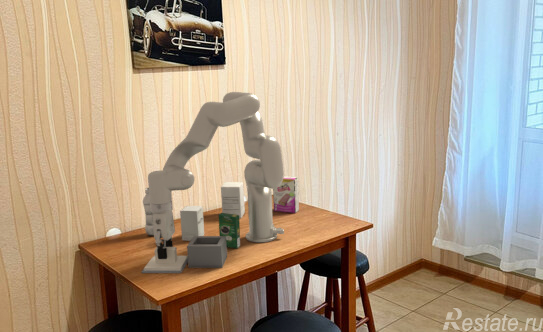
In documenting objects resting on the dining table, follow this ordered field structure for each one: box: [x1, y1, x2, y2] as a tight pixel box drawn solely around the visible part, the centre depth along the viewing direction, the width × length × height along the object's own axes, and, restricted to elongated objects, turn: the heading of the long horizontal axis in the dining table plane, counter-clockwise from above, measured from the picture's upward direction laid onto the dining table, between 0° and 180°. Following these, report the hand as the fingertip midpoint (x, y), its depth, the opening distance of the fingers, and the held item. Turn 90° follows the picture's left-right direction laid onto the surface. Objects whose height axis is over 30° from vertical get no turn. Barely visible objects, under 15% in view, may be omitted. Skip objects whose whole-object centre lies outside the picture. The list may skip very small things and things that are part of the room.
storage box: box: [186, 235, 228, 269], centre depth 183 cm, size 12×10×8 cm
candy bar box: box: [272, 175, 300, 214], centre depth 239 cm, size 11×5×16 cm, turn 68°
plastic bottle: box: [142, 187, 154, 236], centre depth 213 cm, size 6×7×20 cm
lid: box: [143, 246, 188, 271], centre depth 182 cm, size 13×11×6 cm
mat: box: [141, 259, 188, 274], centre depth 183 cm, size 14×13×1 cm
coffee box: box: [218, 212, 241, 250], centre depth 197 cm, size 8×3×13 cm, turn 66°
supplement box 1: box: [179, 205, 205, 242], centre depth 208 cm, size 7×7×13 cm
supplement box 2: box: [220, 181, 246, 219], centre depth 235 cm, size 9×9×15 cm
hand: (165, 254), depth 182 cm, fingers open, 6 cm apart
